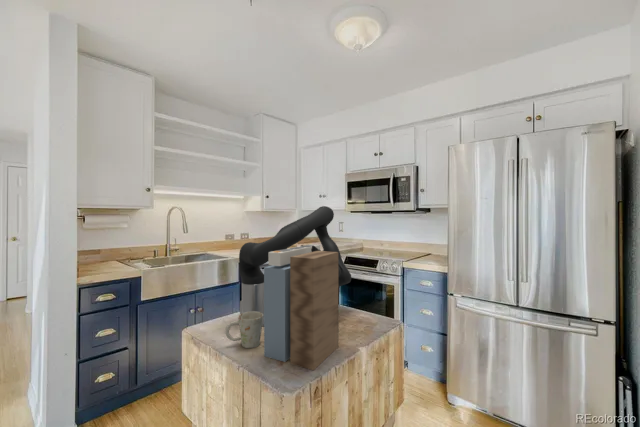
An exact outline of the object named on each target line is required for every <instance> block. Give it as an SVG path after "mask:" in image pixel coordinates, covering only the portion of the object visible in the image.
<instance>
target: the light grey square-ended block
mask: <svg viewBox="0 0 640 427" xmlns="http://www.w3.org/2000/svg"><path fill="white" fill-rule="evenodd" d="M312 246H315V247H316V248H317V249H320V250H321V244H306V245H305V244H304V245H303V246H301V245H299V246H294V247H289V248H287V249H283V250H278V251H272V252H268V257H269V261H268V266H272V265H274V266H282V265H286V264H290V257H292V256H297V255H301V254H305V253H310V252H312V251H311V249H312Z"/></svg>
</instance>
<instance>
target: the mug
mask: <svg viewBox="0 0 640 427" xmlns="http://www.w3.org/2000/svg"><path fill="white" fill-rule="evenodd" d="M237 318H238V319H237V320H235V321H231V322H230V323H228V324H227V326H226V327H225V332H224V333H225V336H226V338H227V339H228V340H230V341H233V342H238V341H241V343H240V344H241V346H242V348H245V349H253V348H257V347H258V346H259V345H260V343H261V336H262V327H263V326H262V321H263V314H262V313H261V312H255V311H252V312H245V313H242V314H240V313H239V315H238V316H237ZM234 326H239V327H238V328H239V333H240V337H236V338H234V337H232V336H231V334H230V330H231V328H232V327H234Z"/></svg>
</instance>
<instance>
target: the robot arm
mask: <svg viewBox="0 0 640 427" xmlns="http://www.w3.org/2000/svg"><path fill="white" fill-rule="evenodd" d="M334 217H335V213H334V210H333V209H332V208H331V207H329V206H325V205H322V206H320V207H318V208H316V209H315V210H314V211H312V212H310V213H309V214H308V215H306V216H304V217H301V218H299V219H297V220H294V221H293V222H290V223H288V224H287V225H284V226H283V227H282V228H280V229H279V230H278V231H277V233H276V234H275V235H274V236H273V237H271V238H270V239H267V240H265V241H263V242H252V241H250V242H245V243H244V244H243V245H242V246H241V247H240V250H239V254H238V265H239V266H238V267H239V276H240V278H241V300H240V301H239V315H240V314H242V313H245V312H252V311H255V312H261V313H262V314H263V321H262V327H264V272H262V270H261V267H260V266H263V265H265V264H266V263H269V257H268V252H272V251H278V250H283V249H289V248H291V247H292V246H294V245H296V244H298V243H300V242H301V241H302V240H304V239H305V238H307V237H308V236H309V235H310V234H311V233H312V232H313V231H315V233H316V236H317V238H318V239H319V241H320V245H321V247H322V250H321V248H320V249H317V248H316V247H315V246H312V249H311V251H312V252H314V251H329V252H338V288H339V287H342V286H344V285H347V284H350V283H351V281H352V274H351V272H350V270H349V269H348V268H347V266H346V264H345V263H344V261H343V259H342V255H341V252H340V250H339V247H338V245H337V244H336V242H335V241H334V240H333V239H332V238H331V236H330V235H329V232H328V225H329V224H331V223H332V221H333V219H334ZM300 246H304V245H303V244H301V245H300Z"/></svg>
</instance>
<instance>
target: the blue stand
mask: <svg viewBox="0 0 640 427" xmlns="http://www.w3.org/2000/svg"><path fill="white" fill-rule="evenodd" d="M263 274H264V325H263V338H264V339H263V346H264V347H263V350H264V351H263V356H264V357H266V358H269V359H273V360H277V361H280V362H284V363H286V362H287V361H288V360H290V264H286V265H282V266H274V265H268V266H264V268H263Z"/></svg>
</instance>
